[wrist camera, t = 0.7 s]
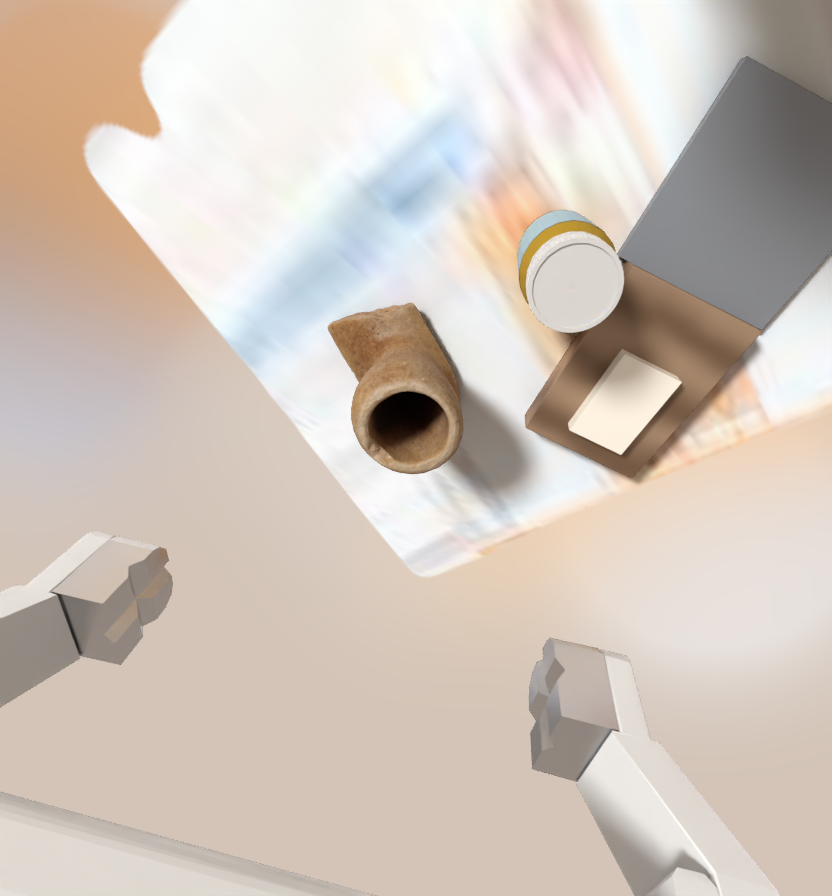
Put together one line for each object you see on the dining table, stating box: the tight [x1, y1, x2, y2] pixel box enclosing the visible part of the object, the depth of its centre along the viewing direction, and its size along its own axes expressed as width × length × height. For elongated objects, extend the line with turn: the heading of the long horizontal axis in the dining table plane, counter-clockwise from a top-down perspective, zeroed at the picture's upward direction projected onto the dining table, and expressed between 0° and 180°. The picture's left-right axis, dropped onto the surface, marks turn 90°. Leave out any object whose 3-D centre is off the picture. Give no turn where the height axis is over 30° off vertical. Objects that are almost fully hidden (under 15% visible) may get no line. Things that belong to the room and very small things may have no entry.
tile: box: [568, 349, 682, 455], centre depth 46 cm, size 9×6×2 cm, turn 156°
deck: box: [525, 260, 762, 478], centre depth 47 cm, size 18×13×3 cm
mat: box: [617, 56, 832, 330], centre depth 39 cm, size 15×15×1 cm
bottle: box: [518, 210, 624, 333], centre depth 37 cm, size 7×7×15 cm
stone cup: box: [328, 303, 463, 474], centre depth 45 cm, size 15×12×15 cm
